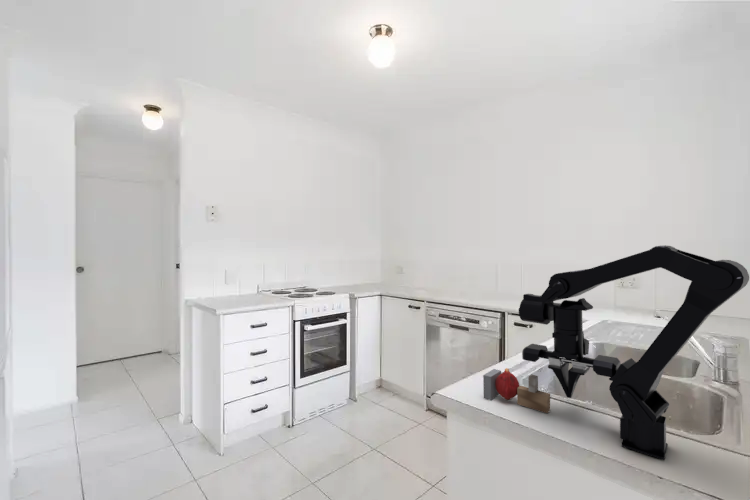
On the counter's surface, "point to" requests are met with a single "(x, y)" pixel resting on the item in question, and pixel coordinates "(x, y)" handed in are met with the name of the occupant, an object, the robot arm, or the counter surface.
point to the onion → (507, 385)
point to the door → (533, 396)
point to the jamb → (490, 384)
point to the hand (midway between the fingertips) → (569, 397)
